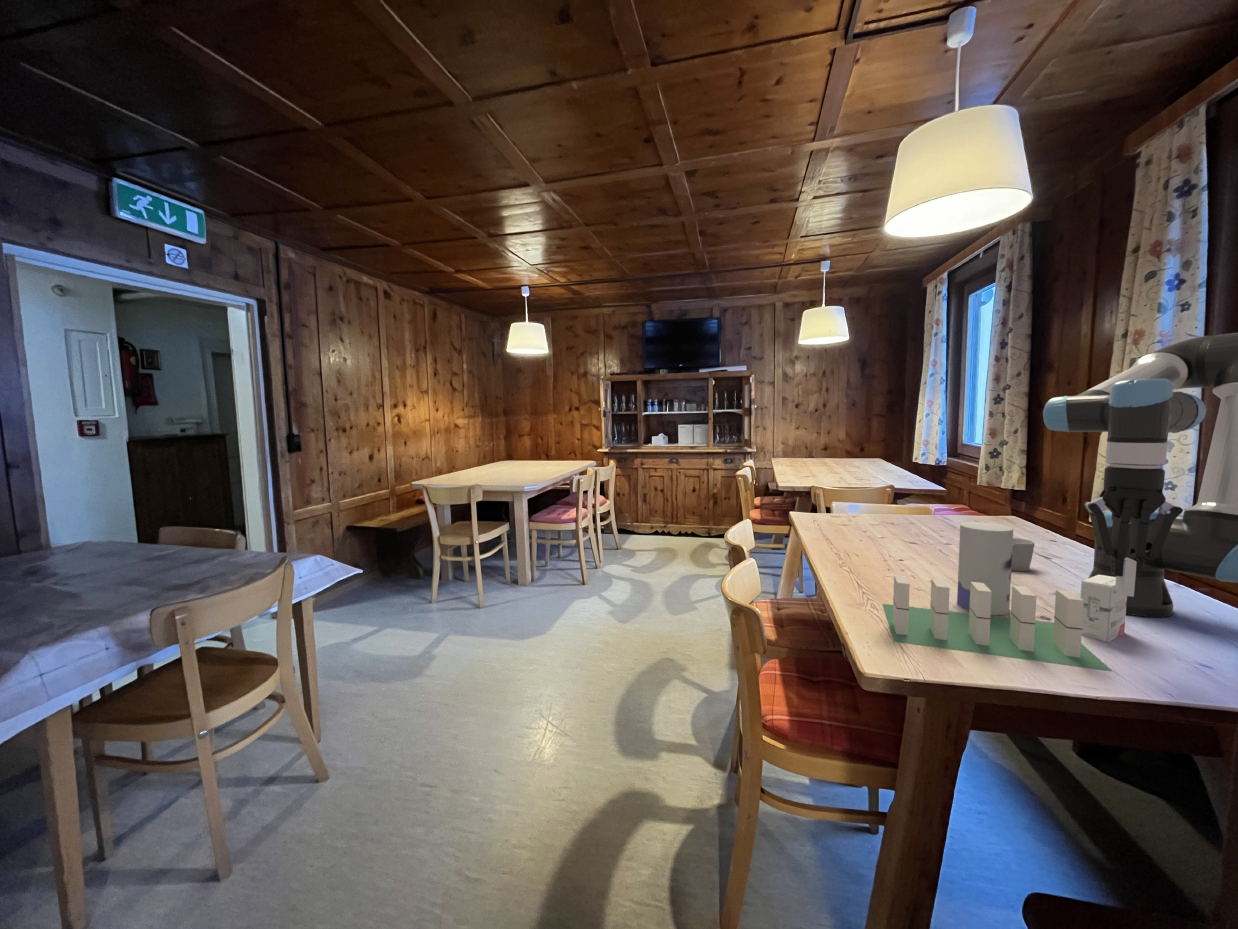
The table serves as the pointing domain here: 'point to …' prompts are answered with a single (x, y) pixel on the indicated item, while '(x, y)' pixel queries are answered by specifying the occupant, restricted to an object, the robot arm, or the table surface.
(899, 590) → the domino
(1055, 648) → the felt mat
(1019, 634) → the domino
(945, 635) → the domino
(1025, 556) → the cup
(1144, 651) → the table surface
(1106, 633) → the ink box
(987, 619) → the domino
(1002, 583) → the container
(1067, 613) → the domino
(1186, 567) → the robot arm
